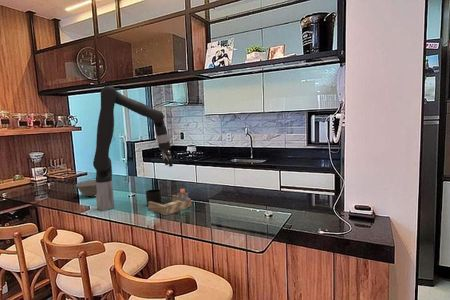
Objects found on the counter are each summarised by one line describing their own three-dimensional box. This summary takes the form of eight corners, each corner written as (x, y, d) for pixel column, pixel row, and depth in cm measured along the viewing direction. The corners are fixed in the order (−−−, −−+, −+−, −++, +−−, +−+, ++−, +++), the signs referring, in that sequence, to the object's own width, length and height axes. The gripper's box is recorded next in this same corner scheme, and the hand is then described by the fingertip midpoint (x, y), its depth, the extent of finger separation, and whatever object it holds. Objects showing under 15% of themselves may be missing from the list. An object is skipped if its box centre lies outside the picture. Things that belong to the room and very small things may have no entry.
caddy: (165, 215, 162) (164, 199, 161) (148, 209, 174) (147, 195, 173) (191, 206, 176) (190, 192, 175) (174, 202, 188) (173, 188, 187)
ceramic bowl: (69, 199, 208) (68, 185, 207) (91, 191, 230) (90, 179, 229) (96, 200, 202) (95, 186, 201) (116, 191, 225) (115, 179, 224)
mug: (167, 202, 189) (166, 188, 188) (156, 207, 178) (155, 193, 177) (155, 201, 192) (154, 187, 191) (143, 206, 181) (142, 192, 180)
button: (182, 196, 172) (182, 190, 171) (179, 196, 173) (179, 189, 173) (186, 195, 174) (185, 189, 173) (183, 194, 176) (182, 188, 175)
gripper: (155, 142, 193) (160, 166, 195) (161, 143, 180) (166, 168, 183) (165, 140, 196) (170, 163, 199) (172, 140, 184) (178, 165, 186)
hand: (169, 165), depth 191 cm, fingers open, 8 cm apart
